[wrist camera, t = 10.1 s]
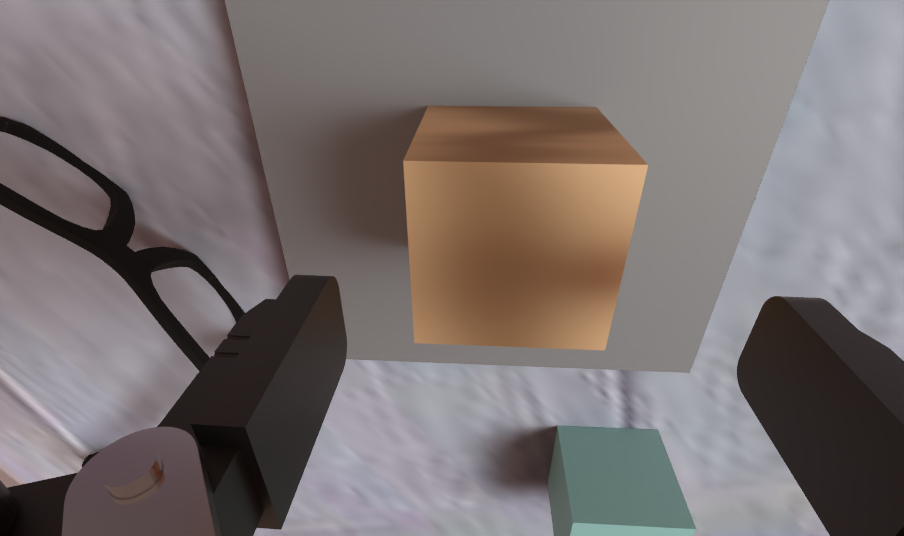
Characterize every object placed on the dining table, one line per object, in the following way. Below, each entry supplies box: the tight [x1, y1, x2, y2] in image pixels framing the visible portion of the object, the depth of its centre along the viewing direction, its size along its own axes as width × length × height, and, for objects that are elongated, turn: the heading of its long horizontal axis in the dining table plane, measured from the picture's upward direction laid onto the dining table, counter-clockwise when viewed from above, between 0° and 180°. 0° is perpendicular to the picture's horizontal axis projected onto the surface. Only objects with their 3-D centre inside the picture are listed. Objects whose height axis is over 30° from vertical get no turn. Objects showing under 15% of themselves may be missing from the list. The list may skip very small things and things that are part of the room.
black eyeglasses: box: [0, 117, 245, 467], centre depth 20 cm, size 16×18×5 cm
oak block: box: [403, 106, 648, 350], centre depth 13 cm, size 5×5×5 cm
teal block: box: [548, 426, 696, 536], centre depth 22 cm, size 5×5×5 cm
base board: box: [225, 0, 829, 373], centre depth 16 cm, size 16×16×2 cm
